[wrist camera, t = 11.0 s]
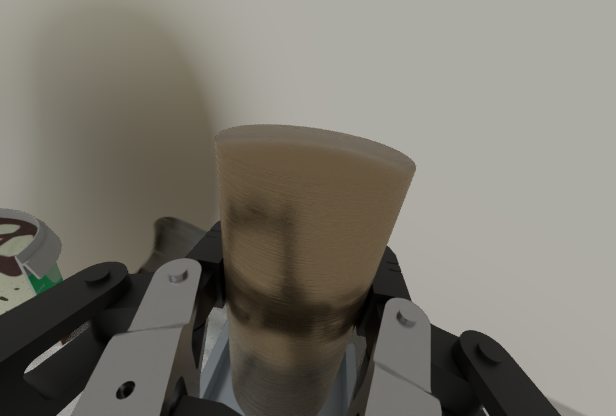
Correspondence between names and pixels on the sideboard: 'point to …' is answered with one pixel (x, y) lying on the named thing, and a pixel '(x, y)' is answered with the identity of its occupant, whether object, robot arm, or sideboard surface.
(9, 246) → the food container
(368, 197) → the bronze can
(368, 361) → the robot arm
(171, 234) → the sideboard surface
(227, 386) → the tray
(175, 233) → the sideboard surface
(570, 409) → the sideboard surface
